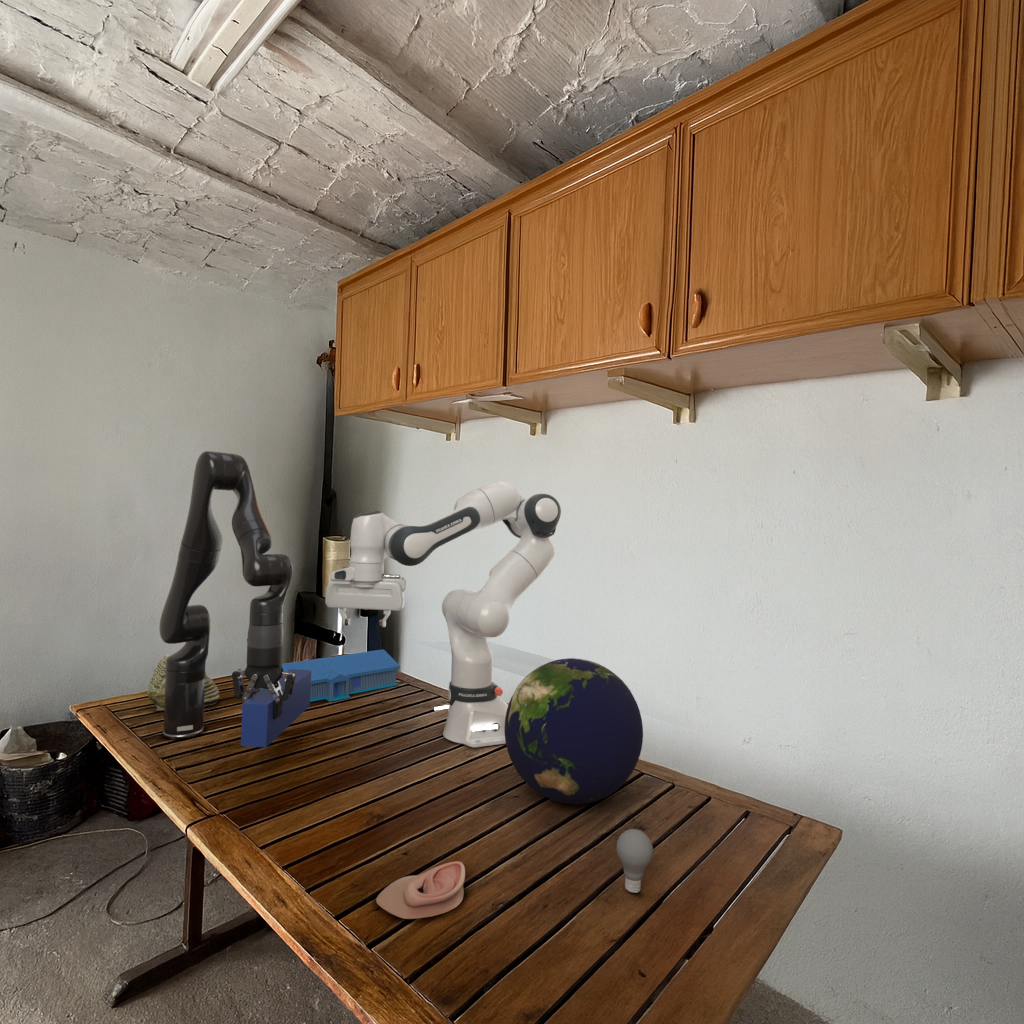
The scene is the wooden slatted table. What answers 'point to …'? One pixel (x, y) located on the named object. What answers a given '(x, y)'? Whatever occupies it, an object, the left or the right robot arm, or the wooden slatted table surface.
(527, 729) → the globe
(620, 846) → the light bulb
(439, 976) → the wooden slatted table surface
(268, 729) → the bar
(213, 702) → the fossil
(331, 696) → the model building
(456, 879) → the anatomical model
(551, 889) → the wooden slatted table surface
